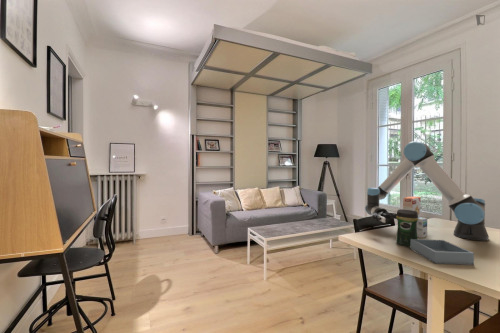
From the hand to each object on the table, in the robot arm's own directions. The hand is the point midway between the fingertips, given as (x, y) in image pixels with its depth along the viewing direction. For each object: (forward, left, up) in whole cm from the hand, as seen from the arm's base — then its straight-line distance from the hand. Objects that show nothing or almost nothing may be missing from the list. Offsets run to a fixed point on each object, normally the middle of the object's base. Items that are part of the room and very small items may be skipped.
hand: (397, 220), depth 134 cm
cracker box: (-22, -24, -11) cm, 35 cm away
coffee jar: (0, +10, -11) cm, 14 cm away
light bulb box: (-16, -10, -11) cm, 22 cm away
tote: (-6, +24, -10) cm, 27 cm away
